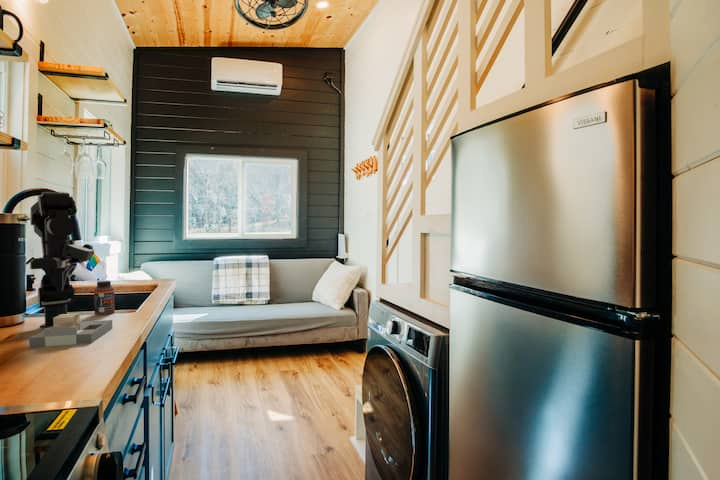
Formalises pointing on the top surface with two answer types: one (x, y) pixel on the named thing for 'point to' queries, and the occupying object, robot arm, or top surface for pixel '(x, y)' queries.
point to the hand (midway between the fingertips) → (60, 290)
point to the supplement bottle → (104, 298)
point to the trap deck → (71, 334)
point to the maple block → (67, 320)
